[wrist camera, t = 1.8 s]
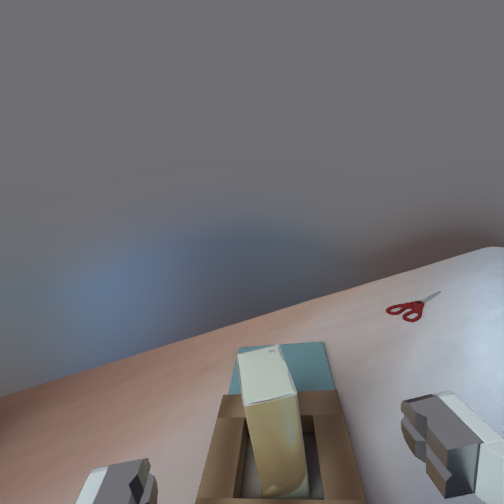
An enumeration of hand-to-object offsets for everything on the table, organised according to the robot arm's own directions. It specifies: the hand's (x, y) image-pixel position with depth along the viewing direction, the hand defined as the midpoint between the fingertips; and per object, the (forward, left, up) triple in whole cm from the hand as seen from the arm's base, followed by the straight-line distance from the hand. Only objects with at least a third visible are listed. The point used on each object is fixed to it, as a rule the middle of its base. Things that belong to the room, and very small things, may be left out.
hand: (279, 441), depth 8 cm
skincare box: (-3, +12, -20) cm, 24 cm away
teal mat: (-3, +26, -20) cm, 32 cm away
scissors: (+24, +41, -21) cm, 52 cm away
